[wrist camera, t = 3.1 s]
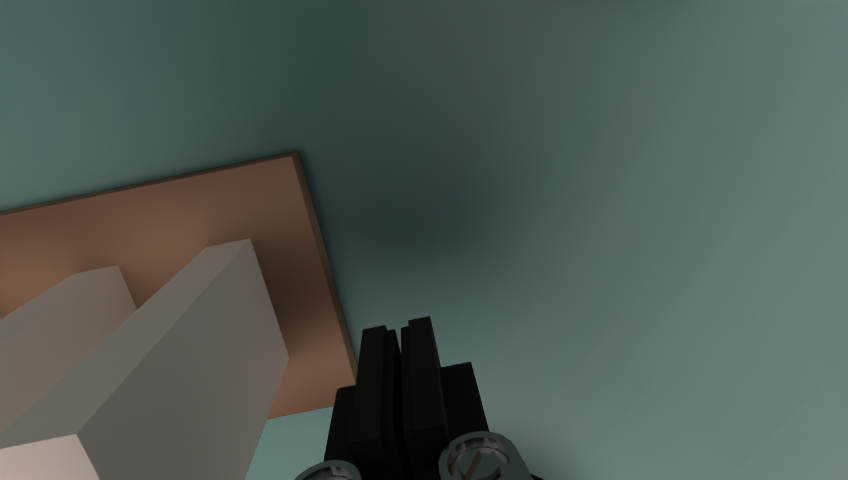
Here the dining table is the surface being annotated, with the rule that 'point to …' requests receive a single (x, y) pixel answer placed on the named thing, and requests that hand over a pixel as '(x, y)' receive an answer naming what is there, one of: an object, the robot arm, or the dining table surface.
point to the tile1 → (164, 385)
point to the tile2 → (57, 335)
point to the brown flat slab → (183, 240)
